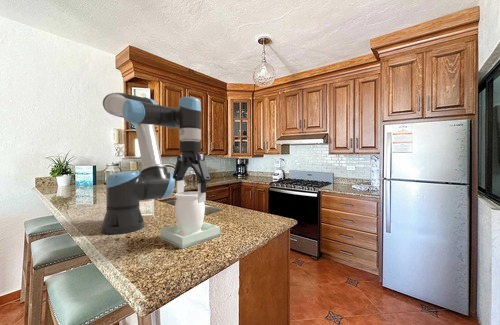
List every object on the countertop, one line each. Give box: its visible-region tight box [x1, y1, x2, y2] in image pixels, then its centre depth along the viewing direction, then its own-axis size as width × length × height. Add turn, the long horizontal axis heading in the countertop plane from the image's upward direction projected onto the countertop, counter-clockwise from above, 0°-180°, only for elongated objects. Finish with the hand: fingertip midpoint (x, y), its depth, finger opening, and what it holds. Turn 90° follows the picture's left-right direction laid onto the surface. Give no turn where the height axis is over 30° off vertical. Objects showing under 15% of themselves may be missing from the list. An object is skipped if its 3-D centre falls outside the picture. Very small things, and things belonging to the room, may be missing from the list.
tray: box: [159, 221, 221, 250], centre depth 79 cm, size 14×15×4 cm
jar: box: [174, 190, 206, 237], centre depth 79 cm, size 11×10×15 cm
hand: (190, 200), depth 79 cm, fingers open, 13 cm apart
